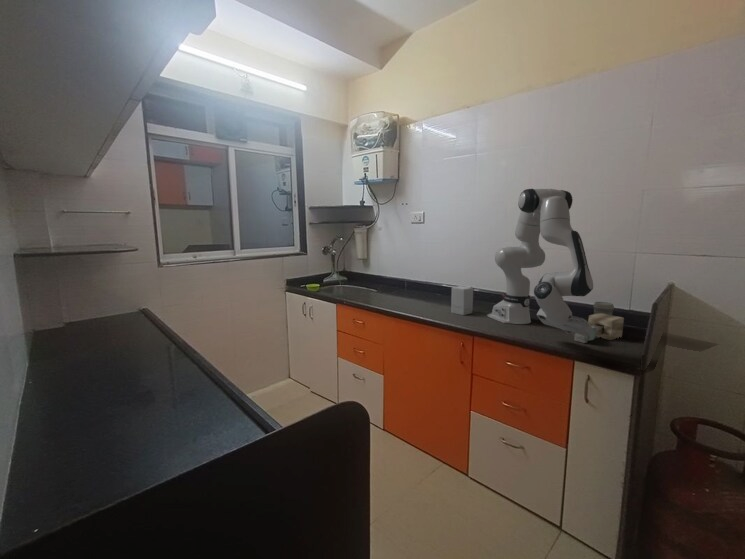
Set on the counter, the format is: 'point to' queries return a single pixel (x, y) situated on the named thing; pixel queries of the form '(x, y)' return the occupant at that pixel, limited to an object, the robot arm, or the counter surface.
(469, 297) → the supplement box
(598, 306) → the coffee cup
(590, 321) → the block
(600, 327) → the grey elongated piece
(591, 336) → the pale teal block
